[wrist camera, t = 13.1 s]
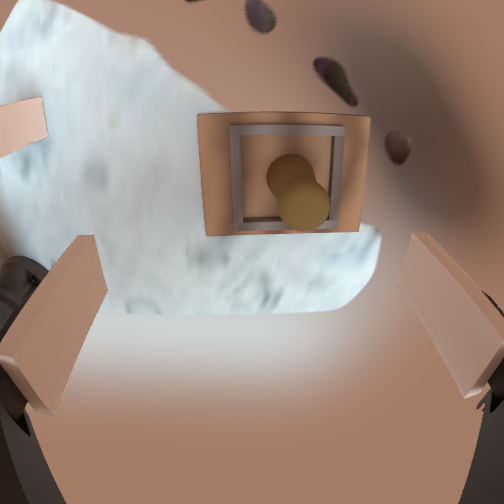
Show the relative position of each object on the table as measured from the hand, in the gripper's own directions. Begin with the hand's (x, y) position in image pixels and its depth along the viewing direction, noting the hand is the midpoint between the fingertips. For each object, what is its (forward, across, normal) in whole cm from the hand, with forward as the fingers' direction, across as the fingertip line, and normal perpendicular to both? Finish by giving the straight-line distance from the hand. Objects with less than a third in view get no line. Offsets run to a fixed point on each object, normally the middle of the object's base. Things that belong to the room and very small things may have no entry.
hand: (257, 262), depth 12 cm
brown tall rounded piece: (+28, +6, -5) cm, 29 cm away
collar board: (+28, +5, -5) cm, 29 cm away
